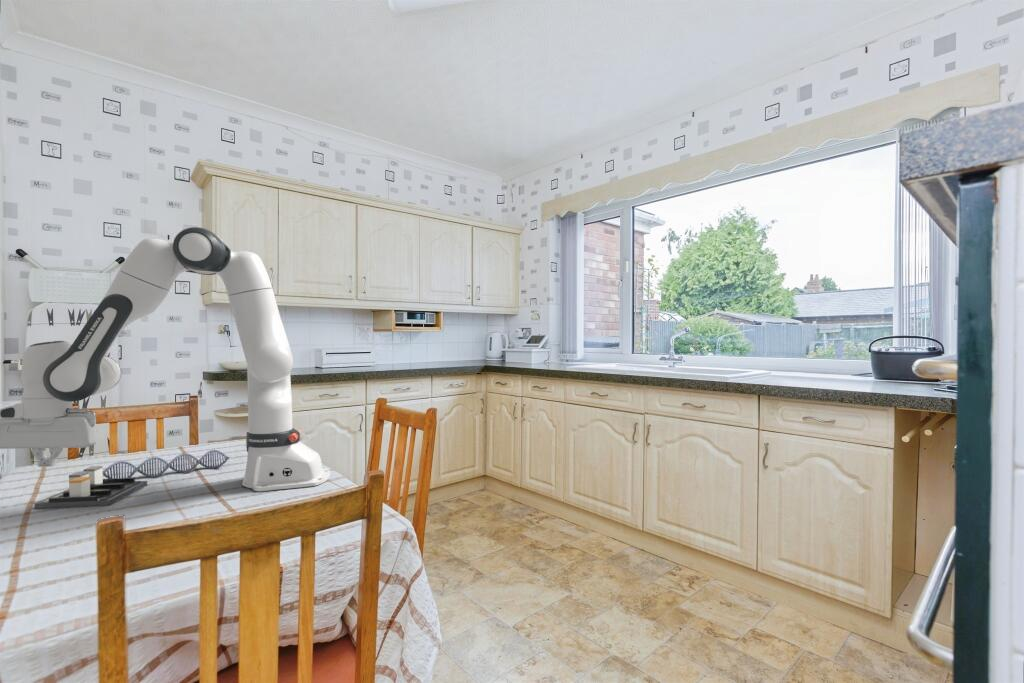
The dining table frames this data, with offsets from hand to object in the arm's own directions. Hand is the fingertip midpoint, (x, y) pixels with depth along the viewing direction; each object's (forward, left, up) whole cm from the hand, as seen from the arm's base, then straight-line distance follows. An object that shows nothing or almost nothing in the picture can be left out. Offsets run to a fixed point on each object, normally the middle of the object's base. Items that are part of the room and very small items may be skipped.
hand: (47, 466), depth 117 cm
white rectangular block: (-3, -5, -8) cm, 10 cm away
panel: (-7, -5, -9) cm, 13 cm away
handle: (-3, -10, -8) cm, 13 cm away
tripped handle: (-7, 0, -8) cm, 10 cm away
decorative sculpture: (-15, -22, -10) cm, 29 cm away
